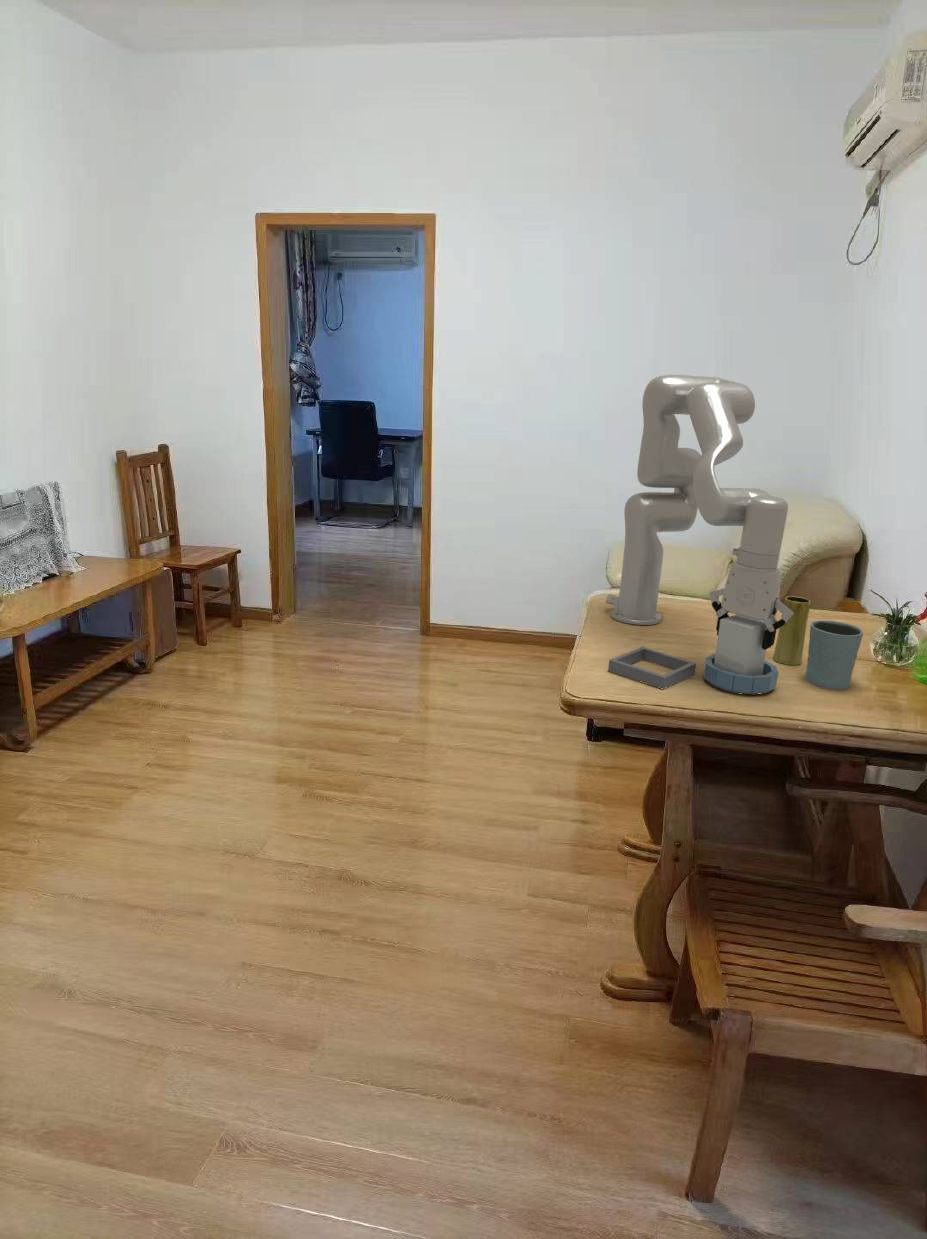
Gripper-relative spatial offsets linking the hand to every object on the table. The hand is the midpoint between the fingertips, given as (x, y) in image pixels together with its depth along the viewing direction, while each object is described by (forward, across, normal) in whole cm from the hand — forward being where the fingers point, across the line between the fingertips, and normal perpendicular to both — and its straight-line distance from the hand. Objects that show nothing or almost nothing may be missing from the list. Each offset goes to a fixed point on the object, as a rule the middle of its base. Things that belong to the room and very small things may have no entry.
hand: (743, 641), depth 173 cm
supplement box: (+8, 0, 0) cm, 8 cm away
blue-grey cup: (+9, +13, +16) cm, 22 cm away
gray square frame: (+9, -14, -9) cm, 19 cm away
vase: (+9, +2, +22) cm, 24 cm away
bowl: (+9, +1, 0) cm, 9 cm away
